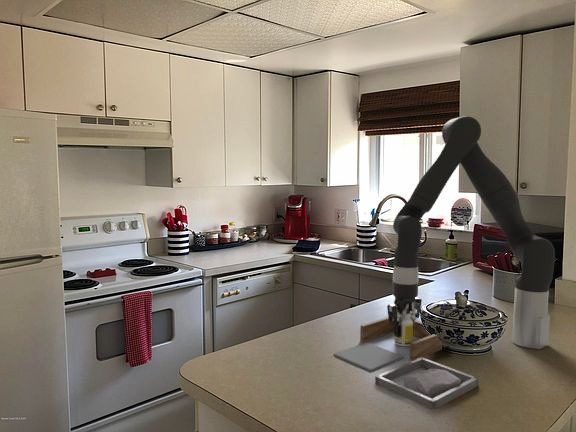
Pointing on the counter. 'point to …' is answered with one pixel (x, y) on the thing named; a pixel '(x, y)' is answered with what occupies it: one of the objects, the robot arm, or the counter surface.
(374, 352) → the mat
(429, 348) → the open wooden tray
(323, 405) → the counter surface
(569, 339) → the counter surface
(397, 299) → the robot arm
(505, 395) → the counter surface
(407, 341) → the supplement bottle
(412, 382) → the stone block
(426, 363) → the metal tray
